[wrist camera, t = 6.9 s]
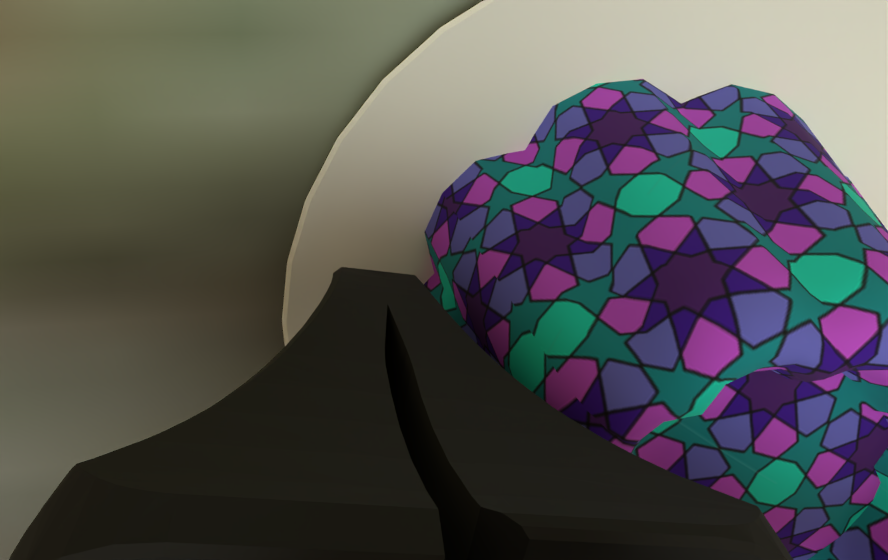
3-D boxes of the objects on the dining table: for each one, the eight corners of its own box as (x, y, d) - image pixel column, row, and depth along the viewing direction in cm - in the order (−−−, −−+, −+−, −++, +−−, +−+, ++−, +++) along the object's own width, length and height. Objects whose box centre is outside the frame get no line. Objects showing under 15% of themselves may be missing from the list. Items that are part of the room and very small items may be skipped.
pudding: (588, -272, 10) (808, -410, 5) (1095, 205, 14) (1472, 370, 9) (158, 405, 14) (61, 678, 9) (655, 621, 18) (764, 884, 13)
